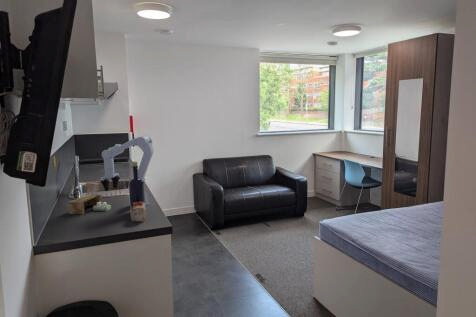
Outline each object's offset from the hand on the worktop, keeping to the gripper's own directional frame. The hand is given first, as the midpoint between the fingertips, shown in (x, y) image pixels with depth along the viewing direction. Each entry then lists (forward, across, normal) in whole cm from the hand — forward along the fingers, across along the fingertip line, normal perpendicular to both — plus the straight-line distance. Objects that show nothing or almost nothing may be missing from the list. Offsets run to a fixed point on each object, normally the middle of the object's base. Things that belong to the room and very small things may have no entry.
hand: (111, 189), depth 217 cm
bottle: (+10, +9, +27) cm, 31 cm away
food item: (+10, +20, +36) cm, 42 cm away
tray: (+10, +12, +3) cm, 15 cm away
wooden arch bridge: (+10, +14, -8) cm, 19 cm away
